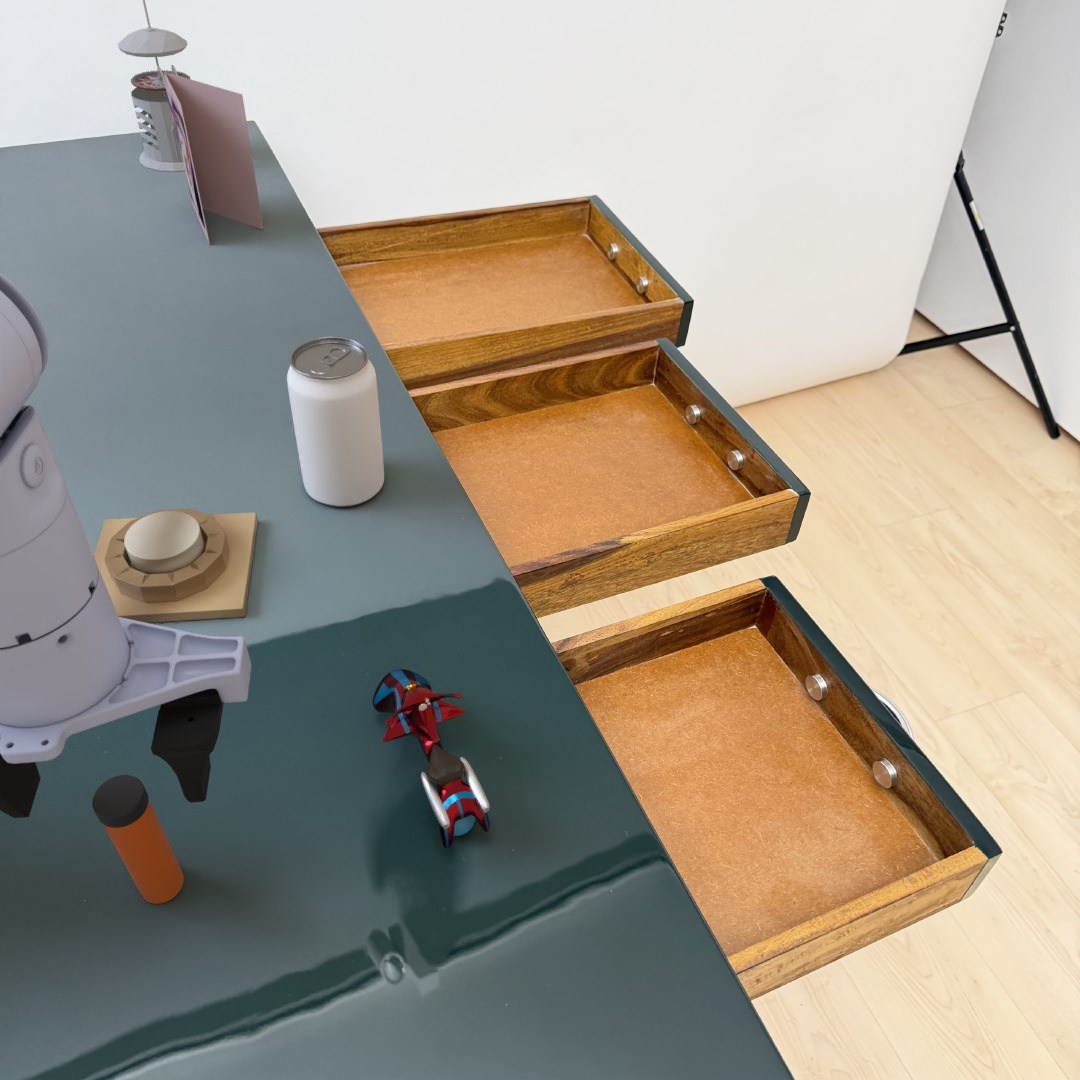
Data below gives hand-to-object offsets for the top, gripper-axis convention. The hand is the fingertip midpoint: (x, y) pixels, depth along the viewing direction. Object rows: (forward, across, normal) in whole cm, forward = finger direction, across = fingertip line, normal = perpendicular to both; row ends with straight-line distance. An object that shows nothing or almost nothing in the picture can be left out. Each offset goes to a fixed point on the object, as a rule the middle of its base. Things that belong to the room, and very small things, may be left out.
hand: (114, 790), depth 42 cm
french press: (+10, -14, +102) cm, 103 cm away
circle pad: (+7, -3, +24) cm, 25 cm away
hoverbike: (+10, +15, +6) cm, 18 cm away
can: (+10, +9, +33) cm, 36 cm away
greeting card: (+10, -6, +83) cm, 84 cm away
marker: (+9, 0, 0) cm, 9 cm away
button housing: (+9, -3, +24) cm, 26 cm away
